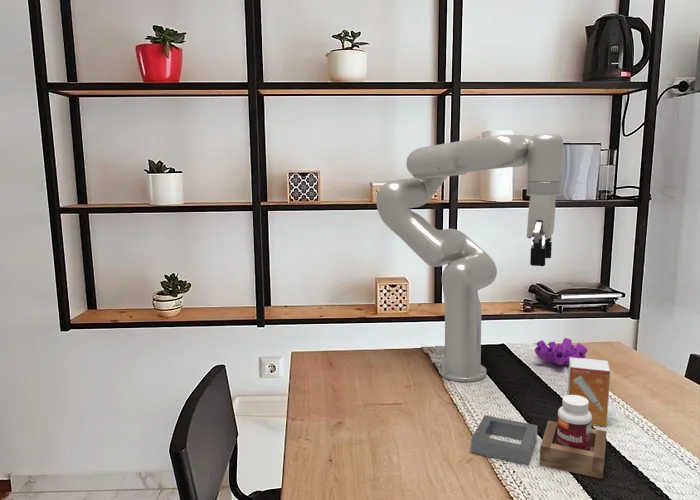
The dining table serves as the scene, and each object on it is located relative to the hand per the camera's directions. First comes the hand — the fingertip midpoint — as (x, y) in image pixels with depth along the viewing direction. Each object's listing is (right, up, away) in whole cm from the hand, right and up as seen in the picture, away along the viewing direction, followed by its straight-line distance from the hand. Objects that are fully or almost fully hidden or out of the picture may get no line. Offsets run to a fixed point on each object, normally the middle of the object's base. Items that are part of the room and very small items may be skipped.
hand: (540, 261), depth 131 cm
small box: (+8, -35, -7) cm, 37 cm away
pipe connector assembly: (+14, -29, +24) cm, 40 cm away
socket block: (-13, -37, -18) cm, 43 cm away
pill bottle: (-2, -37, -23) cm, 43 cm away
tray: (-1, -38, -23) cm, 44 cm away
